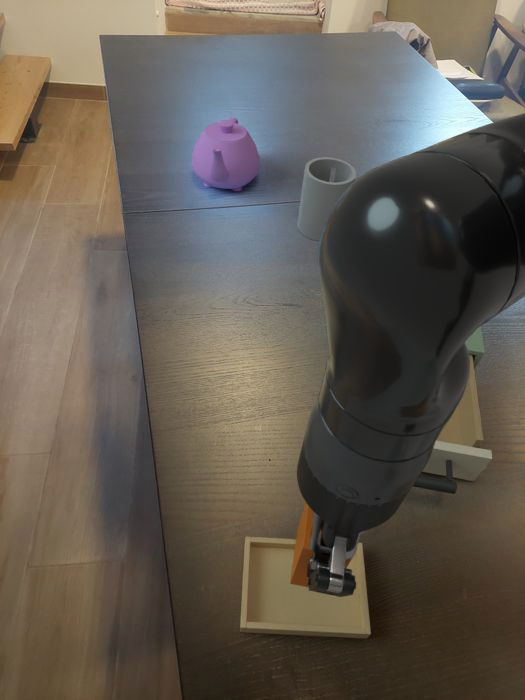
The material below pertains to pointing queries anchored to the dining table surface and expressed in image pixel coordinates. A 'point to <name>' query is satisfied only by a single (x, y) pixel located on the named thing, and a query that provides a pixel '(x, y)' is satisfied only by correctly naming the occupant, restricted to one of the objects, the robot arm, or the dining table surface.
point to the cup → (321, 193)
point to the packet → (304, 549)
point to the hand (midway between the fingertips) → (322, 542)
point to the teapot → (225, 156)
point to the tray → (297, 596)
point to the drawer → (458, 445)
